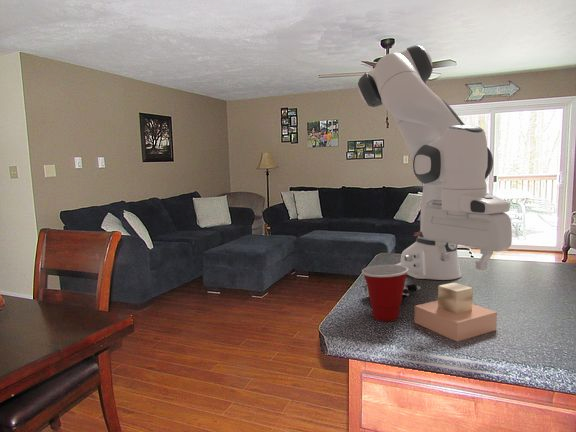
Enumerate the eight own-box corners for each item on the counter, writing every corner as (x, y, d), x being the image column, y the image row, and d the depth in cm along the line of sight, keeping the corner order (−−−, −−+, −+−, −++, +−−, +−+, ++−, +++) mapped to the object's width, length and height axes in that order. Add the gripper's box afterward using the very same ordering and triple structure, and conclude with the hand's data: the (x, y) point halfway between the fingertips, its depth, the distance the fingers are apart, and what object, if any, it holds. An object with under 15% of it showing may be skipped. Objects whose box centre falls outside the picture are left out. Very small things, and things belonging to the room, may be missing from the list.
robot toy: (382, 290, 123) (357, 300, 111) (382, 275, 123) (358, 283, 111) (422, 297, 116) (401, 308, 104) (423, 281, 115) (402, 291, 103)
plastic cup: (366, 307, 106) (366, 261, 104) (410, 312, 102) (411, 264, 100) (356, 322, 96) (356, 271, 94) (404, 328, 92) (405, 275, 90)
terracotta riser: (414, 322, 95) (414, 305, 94) (451, 313, 100) (452, 297, 100) (457, 341, 84) (457, 322, 84) (496, 329, 90) (497, 312, 89)
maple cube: (437, 307, 93) (438, 285, 92) (453, 303, 95) (454, 282, 95) (456, 314, 88) (456, 291, 88) (472, 310, 91) (472, 287, 90)
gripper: (416, 199, 96) (415, 258, 98) (497, 206, 78) (495, 277, 80) (435, 198, 99) (434, 254, 101) (517, 203, 81) (515, 272, 83)
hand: (462, 264), depth 90 cm, fingers open, 8 cm apart
